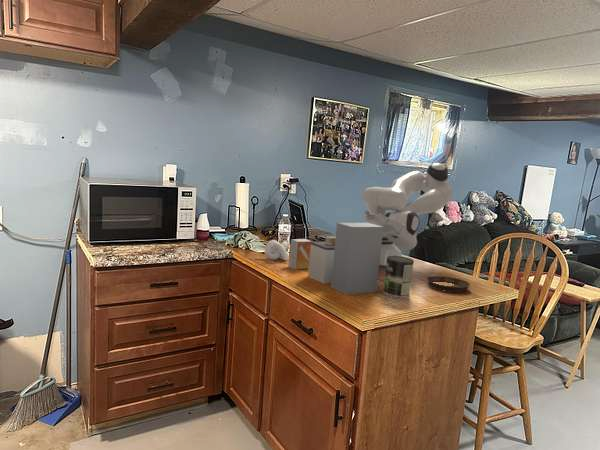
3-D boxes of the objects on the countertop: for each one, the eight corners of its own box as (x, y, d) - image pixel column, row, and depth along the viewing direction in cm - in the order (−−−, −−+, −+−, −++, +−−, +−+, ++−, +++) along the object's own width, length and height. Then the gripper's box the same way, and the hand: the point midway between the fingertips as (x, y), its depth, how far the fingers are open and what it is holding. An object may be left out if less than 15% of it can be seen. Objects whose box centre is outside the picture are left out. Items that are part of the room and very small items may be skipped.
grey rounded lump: (272, 255, 219) (274, 238, 217) (293, 258, 214) (295, 241, 212) (261, 258, 208) (263, 240, 207) (283, 262, 203) (284, 244, 202)
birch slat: (361, 242, 189) (361, 235, 188) (365, 244, 186) (366, 237, 185) (325, 243, 179) (326, 236, 179) (330, 245, 176) (330, 238, 176)
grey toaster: (342, 273, 192) (345, 240, 190) (358, 280, 182) (361, 246, 179) (308, 275, 183) (311, 241, 181) (323, 283, 173) (326, 247, 170)
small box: (295, 269, 192) (297, 241, 190) (288, 266, 197) (290, 239, 195) (310, 268, 196) (312, 241, 194) (302, 265, 201) (304, 238, 200)
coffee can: (387, 297, 161) (391, 261, 159) (380, 289, 171) (383, 255, 169) (413, 298, 162) (418, 262, 160) (404, 290, 172) (408, 256, 170)
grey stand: (360, 284, 176) (367, 222, 172) (376, 291, 168) (383, 226, 164) (331, 287, 169) (336, 222, 165) (345, 294, 160) (352, 227, 156)
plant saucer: (417, 282, 187) (418, 276, 187) (449, 281, 194) (450, 275, 193) (444, 295, 171) (445, 287, 170) (478, 293, 177) (479, 286, 177)
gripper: (379, 219, 204) (361, 204, 197) (409, 226, 186) (390, 210, 179) (373, 230, 203) (354, 215, 196) (402, 238, 185) (383, 222, 178)
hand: (371, 213), depth 187 cm, fingers open, 8 cm apart
